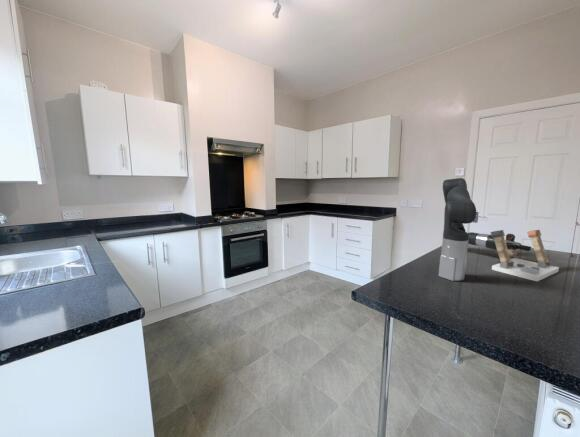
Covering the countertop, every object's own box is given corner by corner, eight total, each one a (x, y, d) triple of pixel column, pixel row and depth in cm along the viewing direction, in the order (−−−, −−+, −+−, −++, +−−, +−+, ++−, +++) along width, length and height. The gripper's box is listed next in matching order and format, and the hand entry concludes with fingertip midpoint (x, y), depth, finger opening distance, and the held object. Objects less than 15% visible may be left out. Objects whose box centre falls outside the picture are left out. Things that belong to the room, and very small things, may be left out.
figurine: (518, 254, 140) (521, 233, 138) (514, 256, 136) (517, 235, 134) (502, 251, 146) (504, 231, 144) (498, 253, 142) (500, 233, 140)
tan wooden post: (508, 267, 112) (497, 231, 114) (500, 267, 114) (490, 232, 117) (513, 265, 114) (503, 229, 117) (506, 265, 117) (496, 230, 119)
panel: (537, 281, 102) (538, 272, 102) (491, 269, 116) (492, 261, 116) (558, 271, 114) (559, 262, 113) (514, 261, 128) (515, 253, 127)
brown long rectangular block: (546, 266, 112) (534, 230, 115) (538, 267, 115) (527, 231, 117) (551, 264, 115) (539, 229, 117) (543, 265, 117) (531, 230, 120)
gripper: (482, 236, 130) (525, 243, 115) (495, 233, 136) (537, 239, 121) (481, 249, 131) (523, 258, 116) (493, 246, 137) (534, 254, 122)
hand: (530, 249), depth 119 cm, fingers closed
